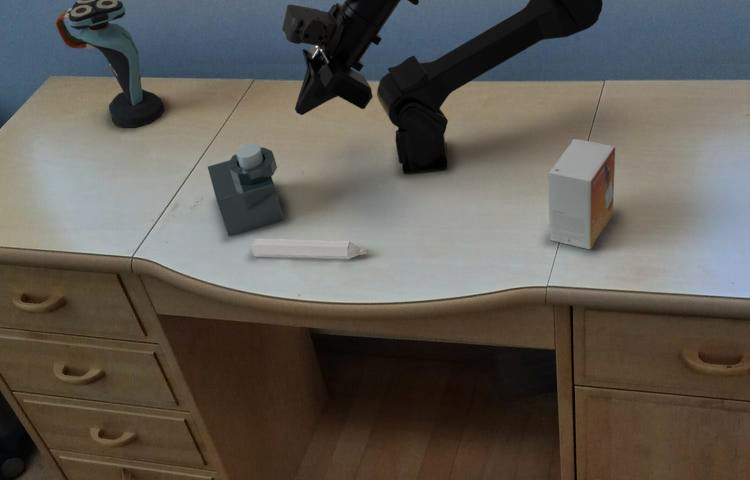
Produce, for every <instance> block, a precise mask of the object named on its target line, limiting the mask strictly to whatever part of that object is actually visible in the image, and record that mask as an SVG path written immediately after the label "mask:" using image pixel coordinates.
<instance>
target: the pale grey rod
mask: <svg viewBox="0 0 750 480" xmlns="http://www.w3.org/2000/svg"><path fill="white" fill-rule="evenodd" d="M251 250H252V255H253V256H255V257H256V258H285V259H286V258H287V259H319V260H351V259H353V258H355V257H357V256H360V255H361V256H362V255H365V254H368V253H371V251H370V250H367V249H364V248H362V247H359V246H358V245H356V244H354V243H352V242H351V241H350V240H322V239H321V240H319V239H318V240H317V239H282V238H280V239H279V238H254V240H253V242H252V244H251Z"/></svg>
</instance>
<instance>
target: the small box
mask: <svg viewBox="0 0 750 480" xmlns="http://www.w3.org/2000/svg"><path fill="white" fill-rule="evenodd" d="M615 159H616V147H615V146H613V145H609V144H605V143H604V144H603V143H599V142H593V141H588V140H582V139H578V138H573V139H572V140H571V141H570V143H569V145H568V147H566V149H565V150H564V152H563V153H562V155H560V157H559V158H558V160H557V161H556V162H555V163H554V165H553V166H552V168H550V170H549V171H548V172H547V188H548V193H547V194H548V226H549V227H548V228H549V240H550V241H553V242H557V243H561V244H565V245H570V246H573V247H577V248H582V249H586V250H591V249H592V248H593V246H594V244H595V242H596V241H597V240H598V238H599V236H600V235H601V233H602V231H603V230H604V228H605V227H606V226H607V224H608V223H609V222H610V219H611V218H612V217H613V215H614V195H615V171H616V170H615V165H616V160H615Z"/></svg>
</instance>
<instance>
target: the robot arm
mask: <svg viewBox="0 0 750 480" xmlns="http://www.w3.org/2000/svg"><path fill="white" fill-rule="evenodd" d="M401 1H402V0H344V2H343V4H340V3H338V2H336V3H335V4H332V5H331V7H330V9H329V10H328V11H324V10H320V9H318V8H315V7H308V6H302V5H296V4H287V6H286V11H285V15H284V20H283V24H282V28H281V30H282V32H284V34H285V38H286V40H287V41H288V42H289V43H291V44H295V45H301V44H306V45H311V47H310V48H309V49H308V50H307V49H305V48H302V55H303V59H304V62H305V66H306V70H305V73H304V78H303V81H302V83H301V87H300V90H299V94H298V97H297V100H296V104H295V106H294V111H295V112H296V114H298V115H300V116H303V115H306V114H307V113H309V112H311V111H313V110H315V109H316V108H318V107H319V106H321V105H324V104H325V103H326V102H328V101H330V100H333V99H335V98H337V97H339V98H340V99H342V100H344V101H346V102H348V103H349V104H352V105H353V106H355V107H357V108H359V109H361V110H365V109H366V108H367V106H368V105H369V104H370V102H371V101H372V99H373V98H374V97H373V91H372V87H371V85H370V84H369V82H368V81H367V79H366V77H365V76H364V75H362V73H360V72H361V70H362V69H363V67H364V66H365V65H364V63H363V62H362V58H363V57H364V55H365V54H366V52H367V50H368V49H369V48H370V46H371V45H372V44H374V45H376V46H379V44H380V42H381V41H382V40H383V38H382V37H381V36H380V34H379V33H380V32H381V30H382V29H383V28H384V26H385V24H386V23H387V21H388V20H389V18H390V17H391V15H392V14H393V13H394V11H395V9H396V8H397V7H398V5H399V4H400V2H401ZM407 1H408V2H409V3H410V4H412V5H414V6H417V5H419V3H420V0H407ZM603 5H604V4H603V0H529V1H528V2H527V4H526V5H525V7H524V8H522V9H520V10H519V11H516V13H513V14H511V16H508V17H507V18H505V19H504V20H502V21H500V22H498V23H497V24H495V25H493V26H492V27H490V28H488V29H486V30H484V31H483V32H482V33H480V34H478V35H476V36H474V37H473V38H471V39H469V40H468V41H466V42H464V43H462V44H461V45H459V46H457V47H456V48H454V49H452V50H451V51H449V52H446V53H445V54H444V55H442V56H440V57H438V58H436V59H435V60H433V61H427V62H420V61H419V60H418V58H417V57H416V56H415V55H411V56H409V57H407V58H406V59H405V60H403V61H402V62H401V63H399V64H397V65H395V66H392V67H388V68H387V71H388V72H387V73H386V74H385V75H383V76H382V77H381V79H380V80H379V83H378V86H377V89H376V96H377V99H378V102H379V104H380V105H381V107H382V109H383V110H384V112H385V113H386V116H387V117H388V119H389V121H390V122H391V124H392V125H393V126H395V127H397V130H395V139H394V140H395V145H396V153H397V159H398V163H399V164H400V165H402V166H401V167H402V169H401V170H402V173H403V174H404V175H406V174H407V175H409V174H417V173H427V172H435V171H436V172H437V171H445V170H448V168H449V161H448V143H447V142H446V136H445V133H446V130H447V125H448V123H449V120H448V118H447V117H446V115H445V114H444V112H443V110H442V109H441V107H442V106H443V104H444V103H445V101H446V100H447V99H448V97H449V96H450V95H451V94H452V93H453V92H455V91H456V90H458V89H460V88H461V87H464V86H466V84H467V85H468V84H469V83H470V82H472V81H474V80H476V79H478V78H479V77H481V76H482V75H484V74H485V73H488V72H490V71H492V70H493V69H495V68H497V67H498V66H500V65H501V64H503V63H505V62H506V61H508V60H510V59H511V58H514V57H515V56H517V55H519V54H521V53H522V52H524V51H526V50H527V49H529V48H531V47H533V46H535V45H536V44H538V43H539V42H541V41H544V40H552V39H553V40H555V39H562V38H568V37H571V36H573V35H575V34H579V33H580V32H583V31H585V30H588V29H590V28H591V27H592V26H594V25H595V24H596V23H597V22H598V21H599V19H600V18H599V17H600V14H601V12H602V10H603Z"/></svg>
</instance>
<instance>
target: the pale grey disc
mask: <svg viewBox="0 0 750 480" xmlns="http://www.w3.org/2000/svg"><path fill="white" fill-rule="evenodd" d="M260 147H261V146H260V145H259V144H258V143H254V142H248V143H245V144H242V145H241V146H239V147H238V148H237V149H236V150H235V154H236V156H237V159H238V162H239V166H240V167H241V168H242V169H251V168H255V167H258V166H259V165H261V164H262V163H263V161H264V159H263V155H262V152H261V148H260Z"/></svg>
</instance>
